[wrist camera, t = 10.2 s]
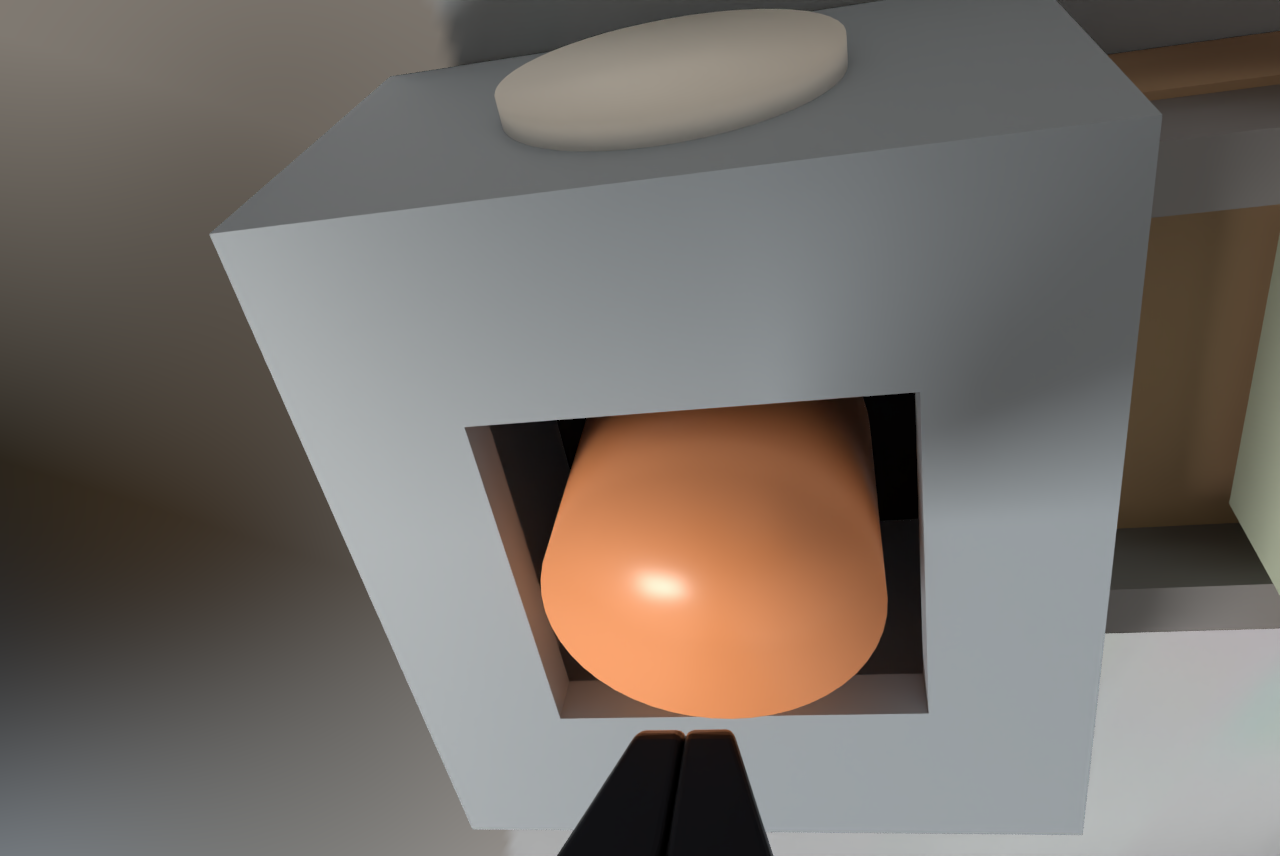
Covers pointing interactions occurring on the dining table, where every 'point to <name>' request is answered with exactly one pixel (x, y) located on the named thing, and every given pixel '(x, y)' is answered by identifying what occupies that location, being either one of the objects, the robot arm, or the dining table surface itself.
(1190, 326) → the rail
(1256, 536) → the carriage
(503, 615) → the grey block with hole
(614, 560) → the rounded orange peg
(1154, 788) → the dining table surface
